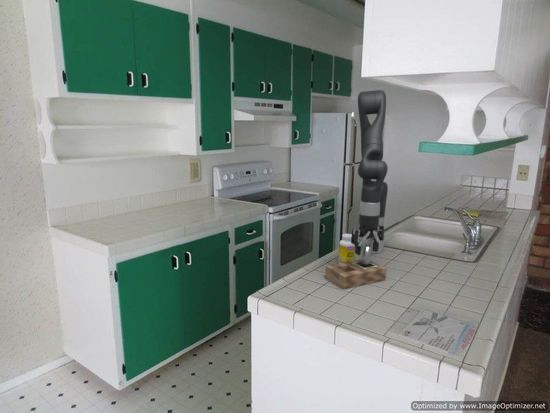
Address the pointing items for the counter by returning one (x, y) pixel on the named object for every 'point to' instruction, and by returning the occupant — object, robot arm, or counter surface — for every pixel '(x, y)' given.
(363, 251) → the pin
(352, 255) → the supplement bottle
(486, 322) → the counter surface
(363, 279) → the bore block
